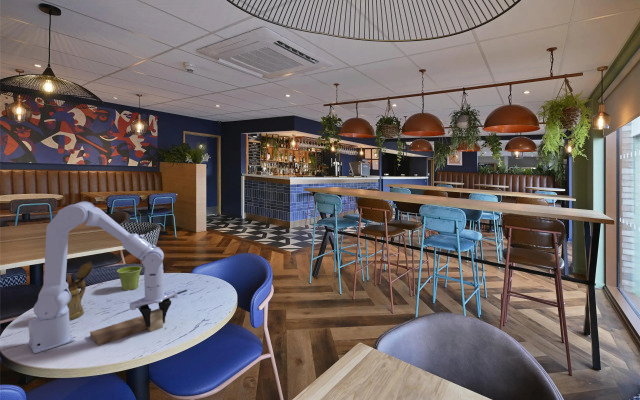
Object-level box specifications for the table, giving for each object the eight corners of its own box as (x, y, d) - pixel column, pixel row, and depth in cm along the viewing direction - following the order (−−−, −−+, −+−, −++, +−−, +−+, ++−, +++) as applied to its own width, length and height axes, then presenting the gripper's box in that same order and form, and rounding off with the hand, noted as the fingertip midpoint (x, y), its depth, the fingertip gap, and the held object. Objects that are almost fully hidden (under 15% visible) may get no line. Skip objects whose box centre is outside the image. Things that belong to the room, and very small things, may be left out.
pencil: (187, 291, 141) (154, 303, 128) (185, 291, 141) (152, 302, 129) (187, 289, 141) (154, 301, 128) (185, 289, 141) (152, 300, 129)
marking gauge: (150, 331, 105) (150, 314, 105) (140, 323, 111) (139, 306, 110) (162, 327, 108) (162, 310, 108) (152, 319, 114) (151, 303, 113)
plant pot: (134, 292, 138) (133, 272, 137) (112, 291, 138) (112, 272, 137) (146, 284, 147) (145, 266, 147) (126, 284, 147) (125, 265, 147)
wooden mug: (101, 308, 122) (99, 262, 120) (63, 323, 109) (60, 272, 107) (85, 304, 125) (83, 259, 123) (45, 319, 112) (43, 269, 110)
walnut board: (98, 345, 96) (98, 340, 96) (90, 336, 101) (90, 331, 101) (165, 322, 111) (165, 318, 111) (155, 315, 117) (155, 311, 116)
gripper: (135, 293, 98) (136, 335, 99) (181, 282, 109) (181, 319, 110) (126, 288, 102) (128, 328, 104) (171, 277, 114) (172, 313, 115)
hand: (155, 323), depth 107 cm, fingers closed on marking gauge, 4 cm apart
